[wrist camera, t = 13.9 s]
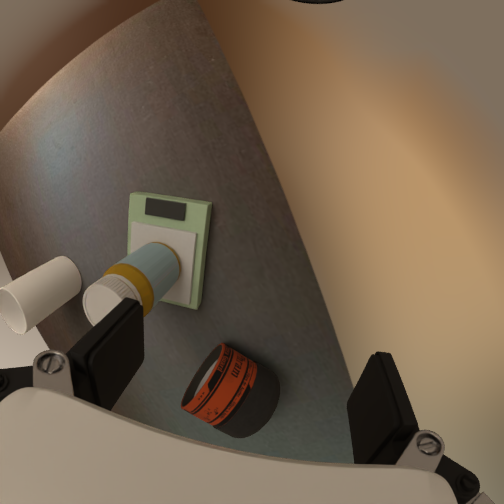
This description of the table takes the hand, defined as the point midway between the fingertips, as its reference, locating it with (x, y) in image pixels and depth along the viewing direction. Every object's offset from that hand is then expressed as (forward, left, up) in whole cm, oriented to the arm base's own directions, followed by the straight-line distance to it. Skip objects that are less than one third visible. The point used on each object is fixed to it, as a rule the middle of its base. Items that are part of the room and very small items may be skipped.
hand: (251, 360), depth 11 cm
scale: (+8, -16, -32) cm, 36 cm away
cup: (+18, -38, -32) cm, 53 cm away
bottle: (+10, -16, -29) cm, 34 cm away
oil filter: (+28, -2, -32) cm, 42 cm away
